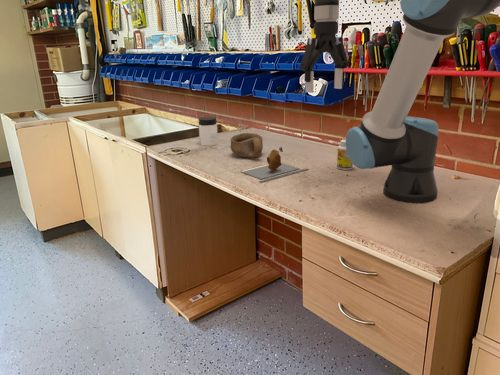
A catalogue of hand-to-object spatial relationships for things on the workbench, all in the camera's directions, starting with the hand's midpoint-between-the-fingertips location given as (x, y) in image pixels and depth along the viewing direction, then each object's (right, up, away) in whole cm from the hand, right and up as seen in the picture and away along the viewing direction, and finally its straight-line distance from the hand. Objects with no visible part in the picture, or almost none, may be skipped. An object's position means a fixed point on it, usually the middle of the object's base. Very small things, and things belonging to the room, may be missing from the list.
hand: (324, 90), depth 139 cm
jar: (-43, -12, +57) cm, 72 cm away
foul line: (-12, -28, +9) cm, 32 cm away
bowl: (-24, -19, +35) cm, 46 cm away
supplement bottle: (+10, -25, +15) cm, 31 cm away
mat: (-17, -26, +15) cm, 34 cm away
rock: (-15, -26, +13) cm, 33 cm away
